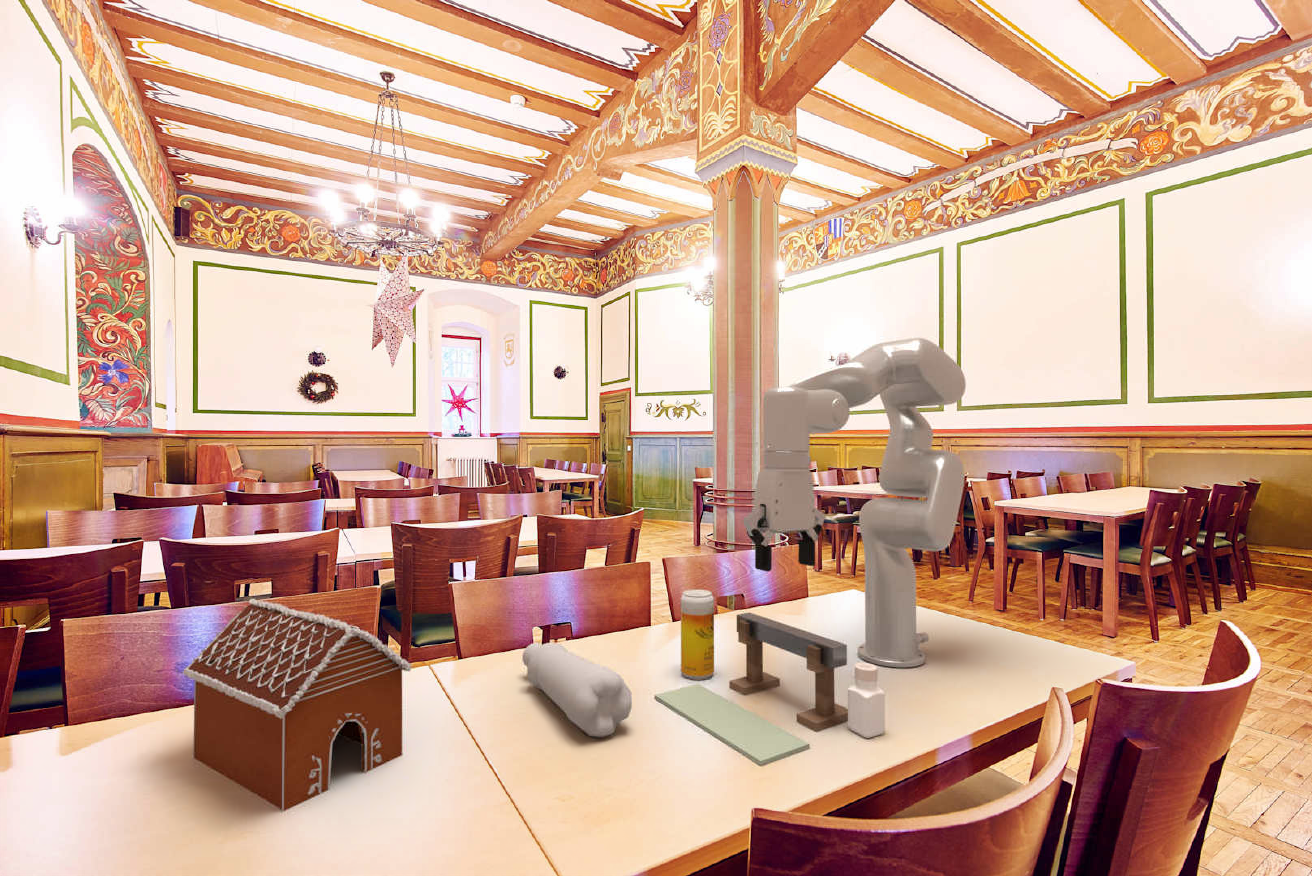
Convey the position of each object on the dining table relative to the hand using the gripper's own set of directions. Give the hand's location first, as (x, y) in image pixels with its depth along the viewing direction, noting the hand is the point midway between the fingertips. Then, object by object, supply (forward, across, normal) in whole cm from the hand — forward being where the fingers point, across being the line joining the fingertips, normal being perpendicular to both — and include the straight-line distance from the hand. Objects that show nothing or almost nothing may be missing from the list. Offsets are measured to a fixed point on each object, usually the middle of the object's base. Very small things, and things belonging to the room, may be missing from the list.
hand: (785, 567), depth 101 cm
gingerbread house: (+23, +68, -22) cm, 75 cm away
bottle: (+23, +30, -19) cm, 42 cm away
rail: (+13, 0, 0) cm, 13 cm away
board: (+22, +12, 0) cm, 25 cm away
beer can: (+22, +4, -18) cm, 29 cm away
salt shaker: (+22, -3, +14) cm, 26 cm away
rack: (+22, -1, 0) cm, 22 cm away
